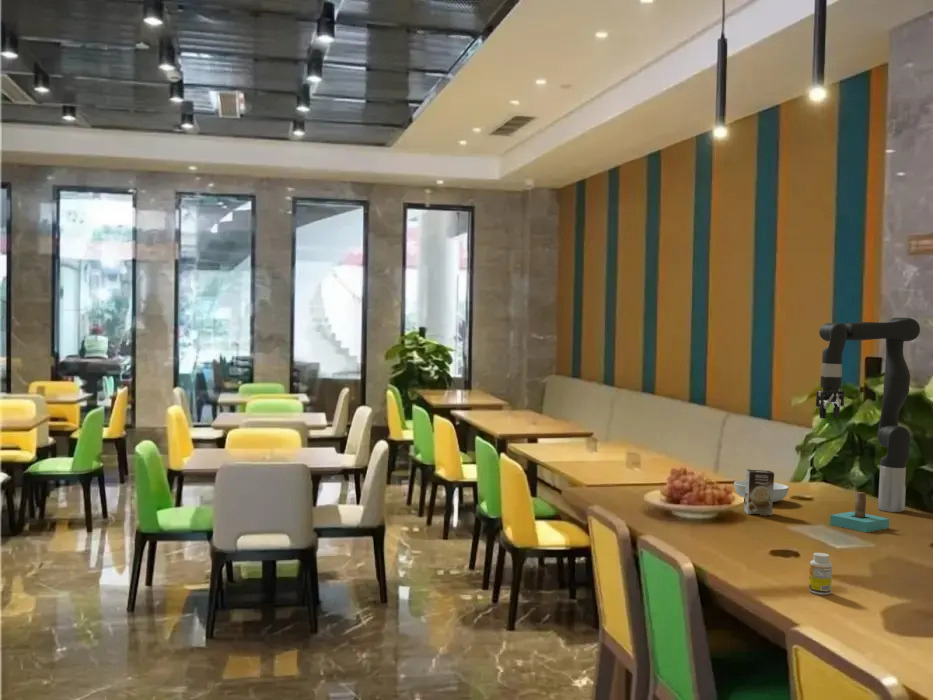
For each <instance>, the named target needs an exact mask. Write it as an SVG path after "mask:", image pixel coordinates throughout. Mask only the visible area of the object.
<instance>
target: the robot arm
mask: <svg viewBox="0 0 933 700" xmlns="http://www.w3.org/2000/svg"><path fill="white" fill-rule="evenodd" d="M920 332H921V327H920V323H918V320H916V319H914V318H910V317H892V318H891V319H889V320H888V322H875V321H874V322H872V321H857V322H856V321H854V322H847V323H844V322H843V323H842V322H841V323H840V322H827V323H824V324H822V325H821V327H820V328H819V333H818V334H819V337H820V338H821V339H822V340H823V341H826V342H829V344H828V346H827V347H826V348H824V349H823V351H822V357H821V366H820V367H821V369H820V385H819V386H820V387H821V388H822V390H817V391H816V398H815V399H816V401H815V407H817V408H819V418H820V419H826V418H827V406H828V405H829V404H832V406H833V409H832V411H833V412H832V417H833V418H837V419H838V418H840V413H841V412H840V410H841V409H840V408H842V407H844V406H845V390H841V388H842V381H843V379H842V378H843V363H842V361H843V352H844V349H845V346H846V342H847V341H851V342H852V341H854V342H856V341H868V340H869V341H870V340H881V339H882V340H883V339H885V368H884V379H883V390H882V391H883V392H882V403H881V404H882V405H881V412H880V417H879V422H878V423H879V424H878V428H877V433H876V434H877V441H878V443H879V444H880V446H882V447H884V448H887V450H886V452H887V453H886V455H885V456H882V457H881V458H880V462H879V481H878V504H877V509H878V510H879V511H883V512H889V513H891V512H892V513H902V511H903V512H904V511H905V510H906V508H905V507H906V506H905V505H906V492H907V491H906V490H907V487H906V473H907V470H906V469H907V463H908V461H909V458H910V449H911V434H910V432H909V430H908V429H907V428H906V427H904V426H901V425H899V416H900V415H899V414H900V411H901V409H902V407H903V405H904V403H905V402H906V400H907V399H908V395H909V394H910V387H911V386H910V385H911V384H910V383H911V375H910V374H911V373H910V369H909V367H908V365H907V362H906V360H905V357H904V343H905V342H911V341H914V340H916V339H917V338H918V336H919V335H920Z"/></svg>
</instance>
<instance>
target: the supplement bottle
mask: <svg viewBox="0 0 933 700" xmlns="http://www.w3.org/2000/svg"><path fill="white" fill-rule="evenodd" d="M812 558H813V559H812V560H810V561H809V575H808V576H809V577H808V578H809V582H808V583H809V584H808V589H809V592H810V593H812V594H815V595H819V596H820V595H821V596H828V595H830V594H831V593H832V583H833V582H832V581H833V580H832V579H833V563H832V562H831V561H830V555H829V554H828V553H823V552H813V556H812Z"/></svg>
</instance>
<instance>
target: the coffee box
mask: <svg viewBox="0 0 933 700" xmlns="http://www.w3.org/2000/svg"><path fill="white" fill-rule="evenodd" d="M745 480H746V490H745V498H744V506H743V508H744V509H743V510H744V513H745V514H747V515H751V514H760V515H759V516H767V515H772V516H773V503H774V502H773V486H774V483H775V472H773V471H771V470H762V469H750V468H749V469H747V468H746V477H745Z"/></svg>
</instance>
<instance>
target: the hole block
mask: <svg viewBox="0 0 933 700" xmlns="http://www.w3.org/2000/svg"><path fill="white" fill-rule="evenodd" d="M829 518H830V520H829V525H830V524H831V525H830V526H834V525H835V527H841V528H843V527H844V529H848V528H849V529H848V530H852V529H854V530H853V531H857V530H858V531H857V532H861V531H862V533H865V532H867V533H871V531H872V532H877V531H876V530H878V531H882V530H881V529H883V530H887V529H886V528H890V518H887V517H883V516H878V515H873V514H868V513H865V518H864V519H861V518H856V517H855V510H854V511H848V512H847V511H846V512H840V513H836V514H834V513H833V514H830V517H829Z"/></svg>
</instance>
